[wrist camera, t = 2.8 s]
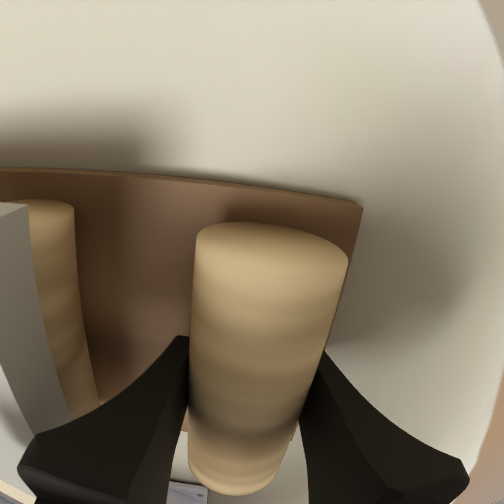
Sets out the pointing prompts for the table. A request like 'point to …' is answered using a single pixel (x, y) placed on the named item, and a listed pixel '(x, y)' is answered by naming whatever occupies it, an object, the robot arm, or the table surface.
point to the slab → (23, 350)
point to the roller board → (137, 261)
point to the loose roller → (254, 346)
